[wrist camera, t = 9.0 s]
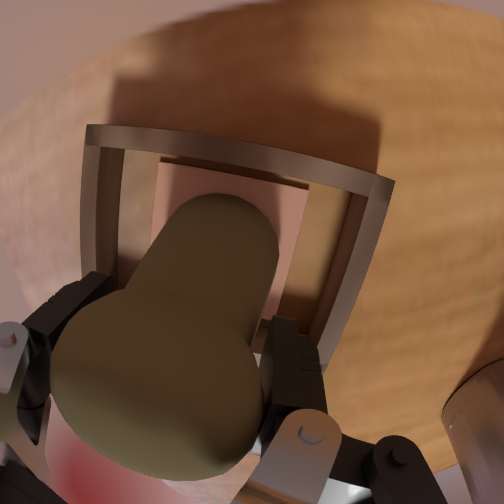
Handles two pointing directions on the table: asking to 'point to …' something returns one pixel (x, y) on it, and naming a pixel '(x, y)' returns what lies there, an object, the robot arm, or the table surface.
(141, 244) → the table surface
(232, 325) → the cork
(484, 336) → the table surface
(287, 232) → the caddy
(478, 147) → the table surface
